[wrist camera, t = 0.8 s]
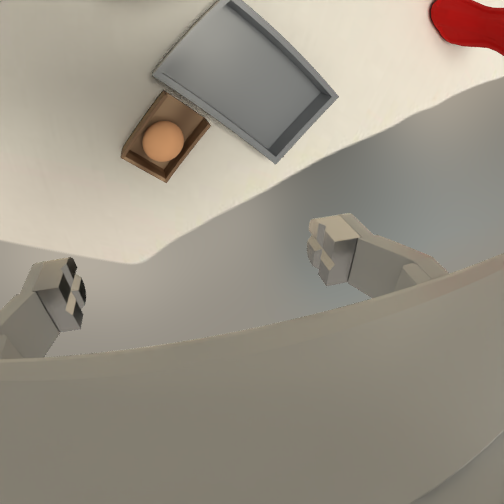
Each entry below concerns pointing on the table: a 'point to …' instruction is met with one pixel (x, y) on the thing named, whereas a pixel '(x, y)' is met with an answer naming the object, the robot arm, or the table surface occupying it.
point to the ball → (163, 141)
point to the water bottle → (469, 23)
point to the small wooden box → (172, 112)
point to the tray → (247, 78)
